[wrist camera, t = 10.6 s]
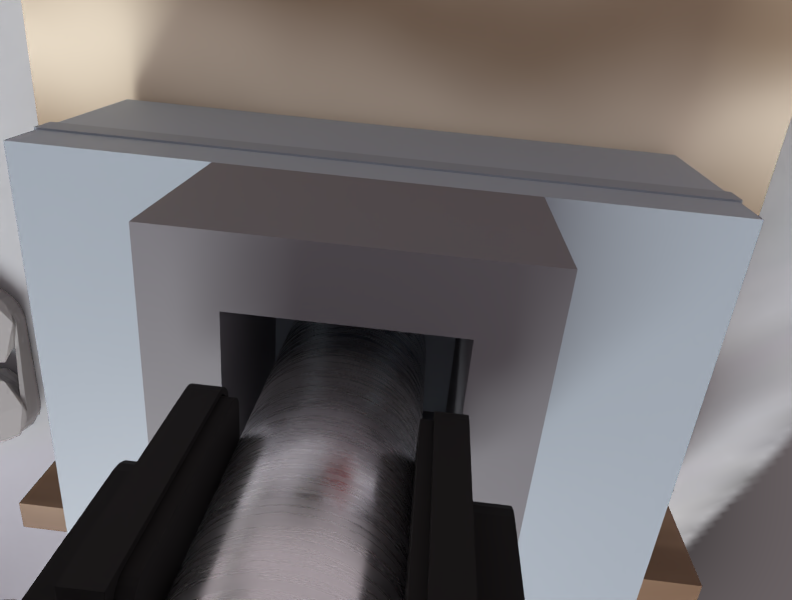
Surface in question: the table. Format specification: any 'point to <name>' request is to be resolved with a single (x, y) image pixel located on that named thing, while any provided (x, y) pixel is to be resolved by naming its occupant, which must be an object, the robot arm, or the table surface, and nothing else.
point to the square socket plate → (390, 299)
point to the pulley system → (5, 390)
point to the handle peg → (318, 475)
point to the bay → (446, 92)
